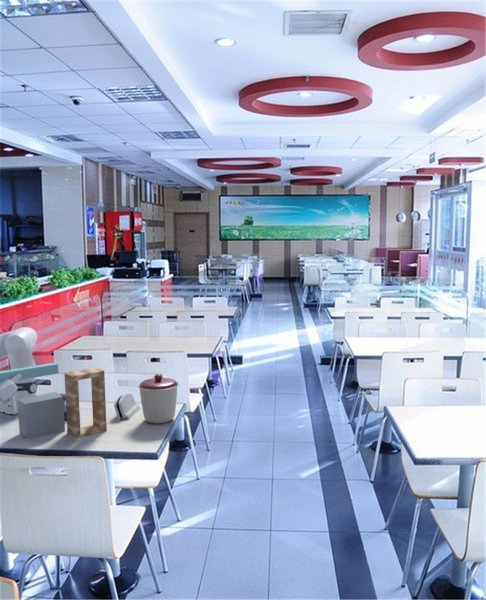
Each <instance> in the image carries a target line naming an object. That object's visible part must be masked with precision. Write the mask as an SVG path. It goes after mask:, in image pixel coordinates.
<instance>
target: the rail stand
mask: <svg viewBox="0 0 486 600" xmlns="http://www.w3.org/2000/svg"><path fill="white" fill-rule="evenodd" d="M63 374H64V389H65V391H64V392H65V393H64V394H65V396H66V401H65V403H66V415H67V421H66V431H67V434H68V435H69V436H71V437H72V438H74V439H77V438H83V437H86V436H90V435H94V434H95V435H96V434H99V433H103V432H107V430H108V429H107V427H108V426H107V408H106V407H107V405H106V404H107V403H106V402H107V401H106V380H105V376H106V375H105V370H103V369H101V368H98V367H91V368H86V369H78V370H73V371H68V372H64V373H63ZM86 379H91V380H90V381H91V383H90V384H91V386H90V387H91V406H92V424H91V425H87V426H82V427H81V415H80V414H81V413H80V411H81V410H80V391H79V390H80V389H79V381H82V380H86Z"/></svg>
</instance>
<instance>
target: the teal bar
mask: <svg viewBox="0 0 486 600" xmlns="http://www.w3.org/2000/svg"><path fill="white" fill-rule="evenodd" d="M17 373H20V374H21V375H22V377H21V378H20V379H19V380H23V379H29V378H35V377H36V378H38V377H39V378H40V377H44V376H45V377H46V376H51V375H57V374H60V373H59V364H58V363H56V362H50V363H44V364H38V365H36V364H35V366H30V367H24V368H17V369H11V368H10V369H7V370H6V369H5V370H0V383H2V382H3V381H4V380H5V379H9V380H10V379H12V378H14V377H15V375H16V374H17Z"/></svg>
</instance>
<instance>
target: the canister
mask: <svg viewBox="0 0 486 600" xmlns="http://www.w3.org/2000/svg"><path fill="white" fill-rule="evenodd" d="M179 386H180V382H178V381H177V380H175V379H173V378H169V377H163V375H162V374H161V373H157V374H155V375H154V377H152V378H148V379H145V380H142V382H140V383H139V384H137V388H138V389H139V393H140V401H141V406H142V407H141V409H142V414H143V417H144V418H143V419H145V421H146V422H147V423H150V424H158V425H159V424H166V423H168V422H171V421H172V420H173V419H174V417H175V414H176V407H177V396H178V387H179Z"/></svg>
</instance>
